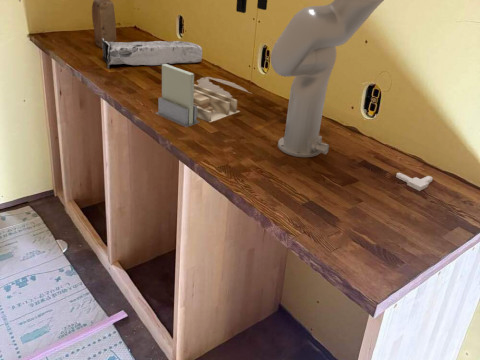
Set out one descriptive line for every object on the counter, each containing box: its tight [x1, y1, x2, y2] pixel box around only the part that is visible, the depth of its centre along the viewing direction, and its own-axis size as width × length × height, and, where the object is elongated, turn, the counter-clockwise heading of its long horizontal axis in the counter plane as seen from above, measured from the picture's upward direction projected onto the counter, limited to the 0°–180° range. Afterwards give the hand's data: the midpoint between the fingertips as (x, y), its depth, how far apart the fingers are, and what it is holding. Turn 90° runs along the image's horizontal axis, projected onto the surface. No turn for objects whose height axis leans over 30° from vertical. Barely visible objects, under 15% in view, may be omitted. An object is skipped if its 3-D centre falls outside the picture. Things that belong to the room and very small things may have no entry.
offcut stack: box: [193, 93, 213, 113], centre depth 152 cm, size 10×5×4 cm, turn 49°
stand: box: [154, 96, 200, 128], centre depth 145 cm, size 14×6×6 cm, turn 49°
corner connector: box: [395, 172, 433, 192], centre depth 125 cm, size 8×8×2 cm
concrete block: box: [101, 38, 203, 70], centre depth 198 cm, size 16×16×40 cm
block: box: [91, 0, 117, 49], centre depth 210 cm, size 11×8×20 cm
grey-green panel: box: [161, 64, 195, 124], centre depth 142 cm, size 12×2×15 cm, turn 49°
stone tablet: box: [196, 76, 252, 98], centre depth 172 cm, size 16×30×2 cm, turn 31°
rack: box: [194, 83, 241, 123], centre depth 154 cm, size 20×14×6 cm
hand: (251, 10), depth 142 cm, fingers open, 9 cm apart
